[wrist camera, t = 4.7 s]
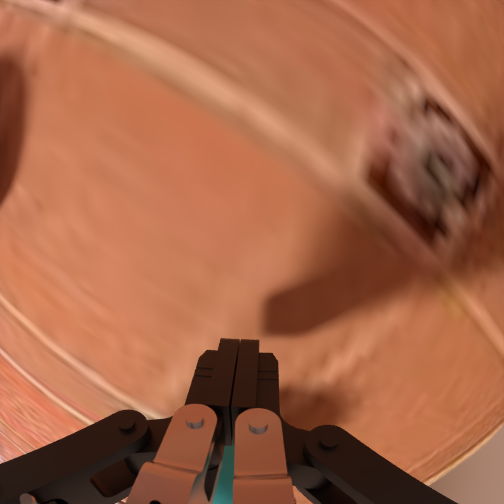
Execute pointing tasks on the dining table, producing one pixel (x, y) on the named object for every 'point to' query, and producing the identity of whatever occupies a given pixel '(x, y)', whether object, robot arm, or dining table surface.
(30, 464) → the robot arm
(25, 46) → the dining table surface
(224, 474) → the ball
